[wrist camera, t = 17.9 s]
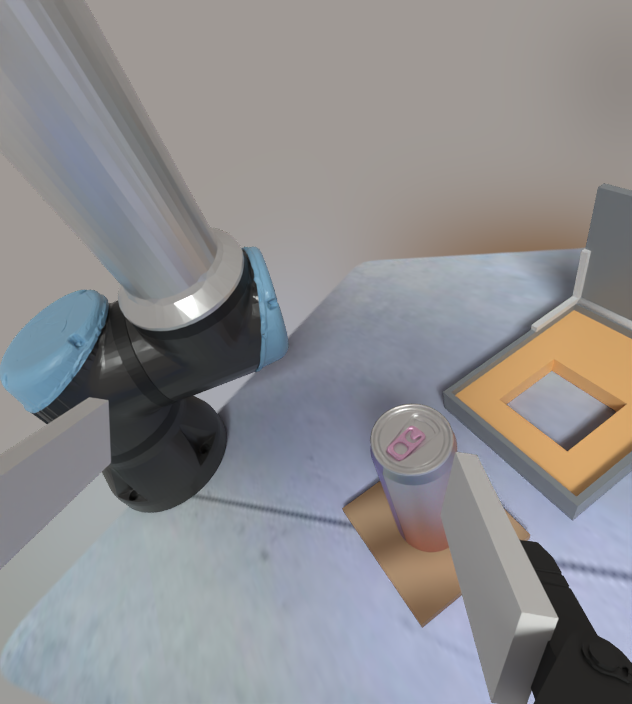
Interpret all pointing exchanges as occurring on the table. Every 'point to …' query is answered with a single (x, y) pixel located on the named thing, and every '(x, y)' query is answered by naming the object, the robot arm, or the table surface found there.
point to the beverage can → (415, 470)
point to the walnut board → (408, 556)
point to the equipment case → (567, 371)
